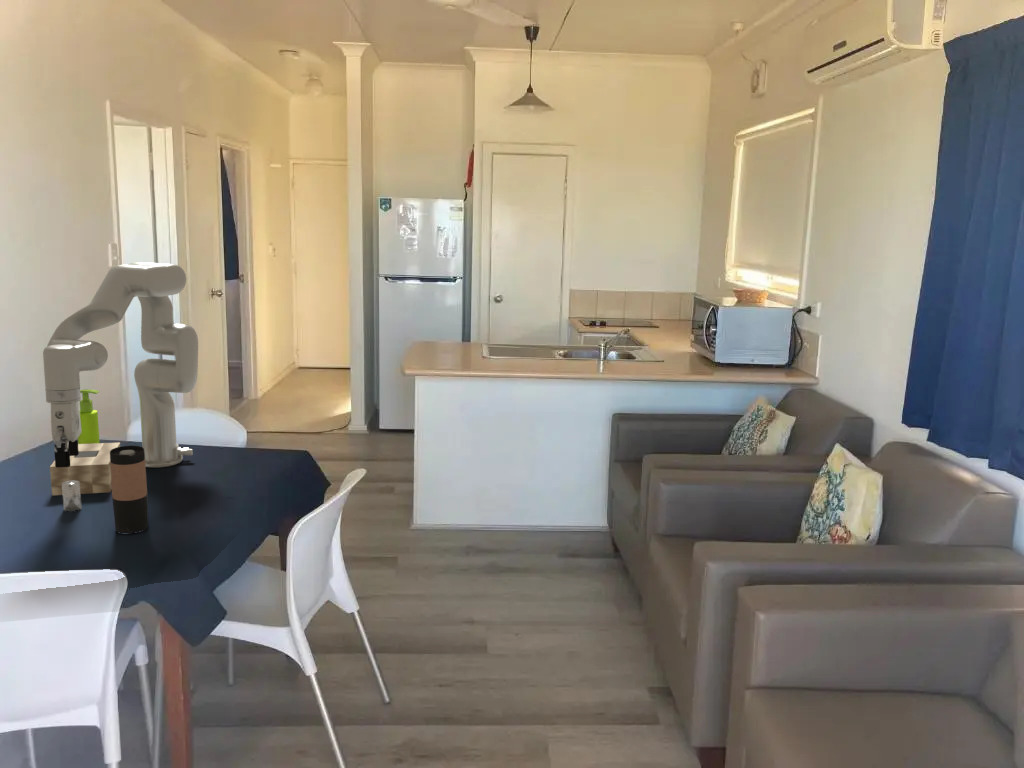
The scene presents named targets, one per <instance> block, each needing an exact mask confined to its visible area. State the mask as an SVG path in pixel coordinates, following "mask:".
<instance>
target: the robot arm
mask: <svg viewBox="0 0 1024 768" xmlns="http://www.w3.org/2000/svg"><path fill="white" fill-rule="evenodd" d="M186 285H187V274H186V273H185V270H184V269H183V268H182V267H181V266H180V265H179V264H178V265H177V264H175V263H173V264H172V263H160V262H159V263H158V262H148V261H147V262H146V261H145V262H144V261H141V262H140V261H139V262H137V261H135V262H131V263H128V264H118V265H117V264H116V265H114V266H112V267H111V268H110V269H109V271H107V273H106V275H105V277H104V279H103V280H102V282H101V284H100V286H99V287H98V289H97V291H96V293H95V294H94V296H93V297H92V299H91V301H90V303H88V304H87V305H86V306H84V307H82V308H81V309H79V310H77V311H76V312H74V313H73V314H71V315H70V316H68V317H67V318H65V319H64V320H63V321H61V322H60V324H59V325H57V327H56V329H55V330H54V332H53V333H52V335H51V337H50V339H49V341H48V343H47V346H45V347H44V348H43V351H42V357H43V358H42V359H43V373H44V374H43V375H44V376H43V377H44V387H45V391H44V392H45V402H46V403H48V404H50V425H51V427H50V428H51V429H50V430H51V439H52V441H53V442H54V461H55V466H56V467H57V468H58V467H70V456H77V455H78V454H79V451H78V437H79V435H80V434H81V421H80V412H79V411H80V403H79V402H80V401H81V400H82V399H81V393H80V390H81V383H80V372H88V371H89V372H92V371H97V370H99V369H101V368H102V367H104V365H105V364H106V363H107V360H108V357H109V354H108V350H107V348H106V347H105V346H104V345H103V344H101V343H100V342H98V341H93V340H83V339H82V340H81V338H82V337H84V336H86V335H87V334H89V333H92V332H94V331H98V330H103V329H104V328H107V327H110V326H113V325H116V324H118V323H119V322H121V321H122V320H123V318H124V316H125V314H126V312H127V310H128V308H129V306H130V305H131V303H132V301H133V299H134V298H135V297H137V299H138V301H139V303H140V308H141V309H140V311H141V325H140V329H141V330H140V341H141V342H140V343H141V348H142V350H144V352H146V353H148V354H152V355H160V356H161V355H163V356H173V357H175V360H173V359H164V358H146V359H143V360H141V361H139V362H138V363H137V364H136V366H135V367H134V372H133V373H134V375H133V376H134V380H135V385H136V388H137V389H136V390H137V393H138V398H139V409H140V411H139V412H140V413H139V414H140V428H141V430H140V431H141V441H142V443H141V444H142V445H141V447H143V448H144V453H145V468H166V467H167V468H168V467H171V466H175V465H177V464H180V463H182V461H183V460H184V459H183V458H184V457H183V456H193V453H194V452H193V449H192V448H189V447H183V448H181V446H179V443H177V425H176V407H175V402H174V399H173V397H172V395H171V394H170V393H176V394H188V393H191V392H192V391H193V390H194V389H195V387H196V385H197V380H198V367H199V364H198V363H199V337H198V334H197V332H196V330H195V328H194V327H193V326H191V325H188V324H185V323H176V322H175V323H174V308H173V303H172V301H171V299H170V297H169V296H174V295H178V294H179V293H181V292H182V291H183V290H184V288H185V287H186Z"/></svg>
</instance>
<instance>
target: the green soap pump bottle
mask: <svg viewBox="0 0 1024 768" xmlns="http://www.w3.org/2000/svg"><path fill="white" fill-rule="evenodd" d="M98 393H100V391H99V390H96V389H90V388H89V389H88V388H87V389H80V394H82V399H81V400H80V401H79V412H80V421H81V434H80V435H79V437H78V438H77V440H78V444H94V443H101V441H100V431H99V429H100V428H99V427H100V426H99V413H98V410H96V409H94V407H93V400H92V399H90V396H89V395H90V394H93V395H96V394H98Z"/></svg>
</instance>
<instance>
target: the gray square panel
mask: <svg viewBox="0 0 1024 768" xmlns="http://www.w3.org/2000/svg"><path fill="white" fill-rule="evenodd" d="M97 454H98V451H85V452H79V454H78V455H77V456H75V458H77V457H96V456H97Z"/></svg>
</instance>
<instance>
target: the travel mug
mask: <svg viewBox="0 0 1024 768" xmlns="http://www.w3.org/2000/svg"><path fill="white" fill-rule="evenodd" d="M110 465H111V483H112V489H111V497H112V499H111V500H112V509H113V517H114V526H115V527H114V528H115V531H117V532H120V533H135V532H139V531H142V530H144V531H146V530H147V529H148V528H147V527H149V519H148V518H149V516H148V515H149V511H148V510H149V509H148V487H147V484H148V483H147V471H146V470H147V469H146V468H147V467H145V453H144V448H143V447H142V446H140V445H122V446H120V447H117V448H114V449H112V450H111V451H110ZM146 528H147V529H146ZM145 529H146V530H145ZM117 532H116V533H117ZM142 532H143V531H142ZM120 533H119V534H120Z"/></svg>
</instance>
